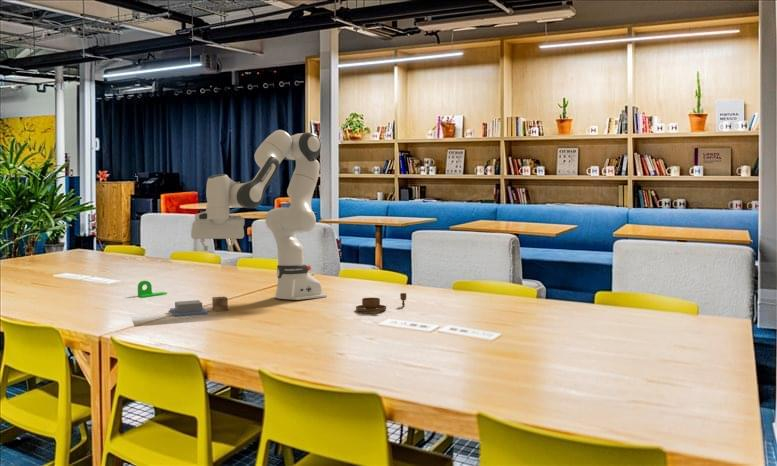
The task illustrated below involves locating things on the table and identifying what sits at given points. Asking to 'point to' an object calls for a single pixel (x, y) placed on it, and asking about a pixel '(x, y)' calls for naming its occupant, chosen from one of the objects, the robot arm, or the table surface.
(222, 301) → the walnut cube
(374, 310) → the place setting
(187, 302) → the base
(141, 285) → the mechanical part
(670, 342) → the table surface
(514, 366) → the table surface
